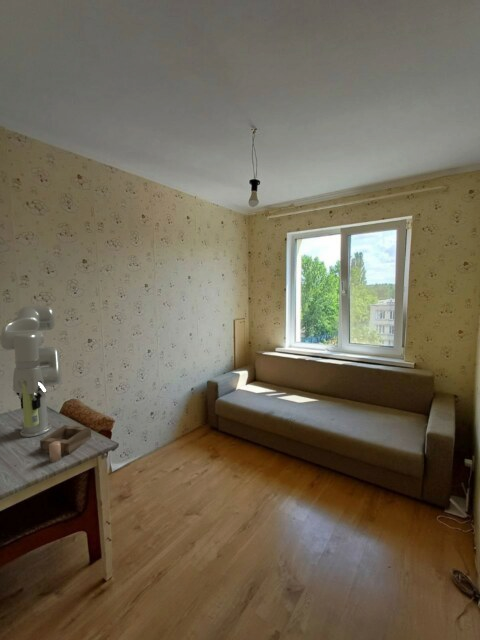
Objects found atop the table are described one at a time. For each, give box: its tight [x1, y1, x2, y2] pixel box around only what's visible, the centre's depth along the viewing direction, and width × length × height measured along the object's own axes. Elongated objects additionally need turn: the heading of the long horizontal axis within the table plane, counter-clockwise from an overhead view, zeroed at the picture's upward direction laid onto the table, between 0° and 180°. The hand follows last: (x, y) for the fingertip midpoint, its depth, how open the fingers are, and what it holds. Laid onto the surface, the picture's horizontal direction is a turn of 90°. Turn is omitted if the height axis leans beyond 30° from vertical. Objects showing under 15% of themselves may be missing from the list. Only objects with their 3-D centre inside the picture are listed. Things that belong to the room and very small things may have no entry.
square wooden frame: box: [39, 424, 92, 455], centre depth 130 cm, size 14×14×5 cm
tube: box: [22, 381, 39, 428], centre depth 116 cm, size 6×5×20 cm
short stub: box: [48, 441, 62, 463], centre depth 119 cm, size 4×4×7 cm
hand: (31, 407), depth 116 cm, fingers closed on tube, 4 cm apart
